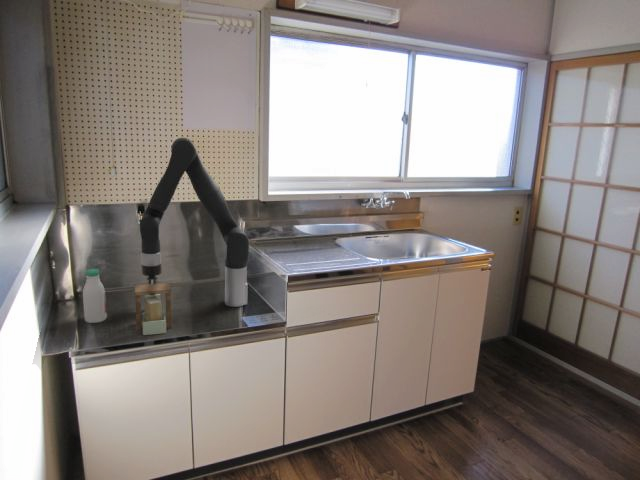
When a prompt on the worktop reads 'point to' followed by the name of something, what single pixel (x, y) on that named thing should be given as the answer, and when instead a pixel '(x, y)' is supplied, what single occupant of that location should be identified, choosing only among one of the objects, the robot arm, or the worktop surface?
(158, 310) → the skincare box
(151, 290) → the tunnel
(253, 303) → the worktop surface
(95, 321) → the milk bottle
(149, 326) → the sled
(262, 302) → the worktop surface
